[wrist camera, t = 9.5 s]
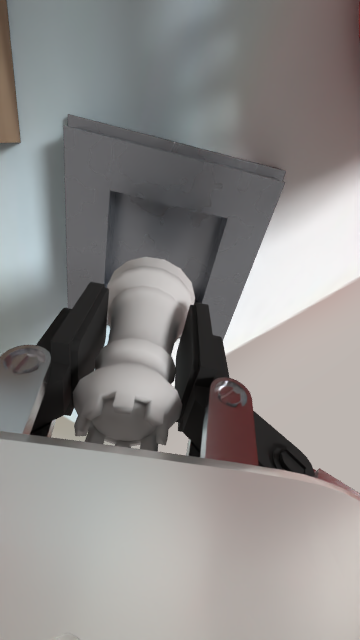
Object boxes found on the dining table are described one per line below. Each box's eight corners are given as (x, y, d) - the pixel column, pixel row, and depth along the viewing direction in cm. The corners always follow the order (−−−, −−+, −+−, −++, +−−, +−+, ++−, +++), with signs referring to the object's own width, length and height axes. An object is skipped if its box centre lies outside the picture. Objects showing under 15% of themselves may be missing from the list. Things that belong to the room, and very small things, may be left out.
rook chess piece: (119, 239, 12) (41, 354, 6) (208, 270, 13) (233, 404, 6) (101, 315, 15) (31, 460, 8) (177, 338, 15) (172, 487, 9)
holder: (283, 170, 17) (297, 174, 14) (221, 332, 24) (224, 351, 22) (71, 114, 15) (53, 110, 13) (73, 305, 22) (61, 321, 20)
